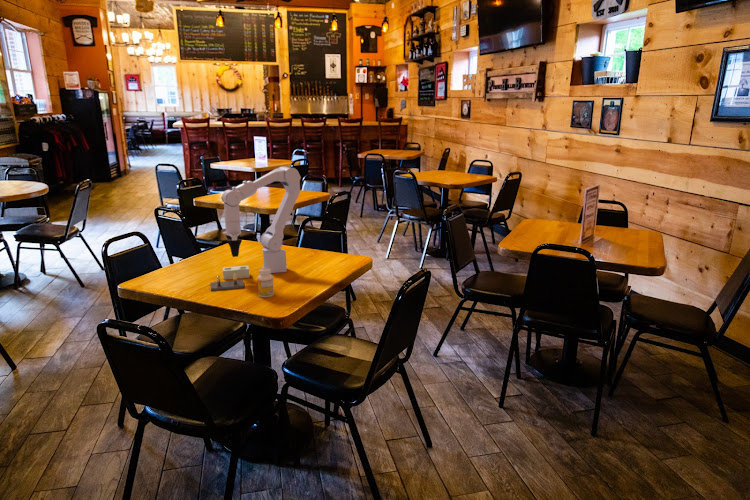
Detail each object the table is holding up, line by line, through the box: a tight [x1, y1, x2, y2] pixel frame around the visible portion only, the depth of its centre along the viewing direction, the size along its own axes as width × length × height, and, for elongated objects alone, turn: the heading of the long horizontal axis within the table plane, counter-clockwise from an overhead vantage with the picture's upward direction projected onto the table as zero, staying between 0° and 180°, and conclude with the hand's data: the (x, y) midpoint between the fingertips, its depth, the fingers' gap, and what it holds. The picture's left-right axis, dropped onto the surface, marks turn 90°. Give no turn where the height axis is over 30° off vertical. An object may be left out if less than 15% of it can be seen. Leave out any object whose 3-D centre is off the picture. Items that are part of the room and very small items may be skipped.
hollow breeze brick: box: [222, 265, 250, 280], centre depth 203 cm, size 10×5×4 cm, turn 108°
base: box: [210, 274, 245, 292], centre depth 191 cm, size 12×7×4 cm, turn 108°
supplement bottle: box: [257, 267, 275, 298], centre depth 181 cm, size 5×5×10 cm
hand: (234, 254), depth 201 cm, fingers open, 7 cm apart
